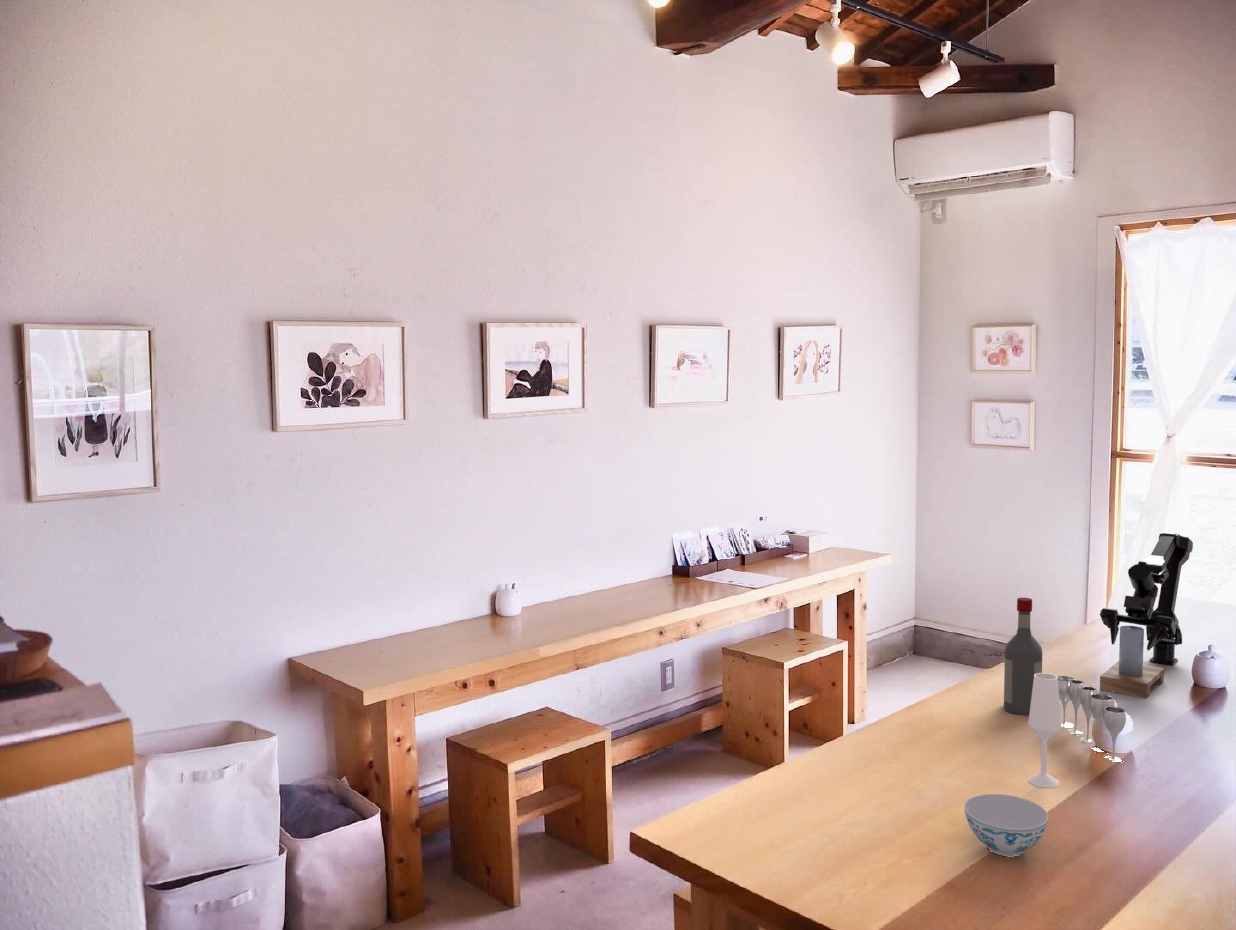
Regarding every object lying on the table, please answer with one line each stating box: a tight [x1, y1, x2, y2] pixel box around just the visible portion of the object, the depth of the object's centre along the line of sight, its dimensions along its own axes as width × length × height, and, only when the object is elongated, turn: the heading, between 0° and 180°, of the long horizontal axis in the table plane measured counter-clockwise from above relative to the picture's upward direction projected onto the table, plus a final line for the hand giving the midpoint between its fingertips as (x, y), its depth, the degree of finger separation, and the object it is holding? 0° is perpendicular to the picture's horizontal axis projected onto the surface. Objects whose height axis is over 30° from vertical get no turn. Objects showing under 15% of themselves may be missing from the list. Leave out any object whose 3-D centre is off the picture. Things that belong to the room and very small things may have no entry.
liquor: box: [1003, 597, 1043, 716], centre depth 270 cm, size 9×9×30 cm
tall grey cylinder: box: [1118, 625, 1145, 677], centre depth 286 cm, size 6×6×13 cm
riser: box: [1099, 660, 1165, 699], centre depth 289 cm, size 18×12×4 cm, turn 139°
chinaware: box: [964, 793, 1049, 856], centre depth 196 cm, size 15×15×8 cm
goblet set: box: [1056, 675, 1127, 763], centre depth 249 cm, size 28×6×13 cm, turn 4°
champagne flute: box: [1027, 672, 1062, 789], centre depth 225 cm, size 7×7×24 cm
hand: (1129, 646), depth 285 cm, fingers open, 9 cm apart
